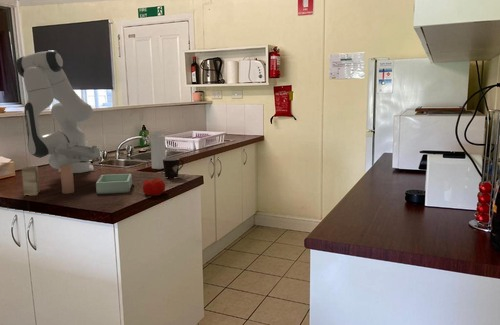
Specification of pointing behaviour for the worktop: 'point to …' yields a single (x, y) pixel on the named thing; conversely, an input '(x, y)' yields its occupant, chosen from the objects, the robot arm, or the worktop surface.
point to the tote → (114, 183)
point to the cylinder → (67, 179)
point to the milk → (158, 150)
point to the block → (30, 180)
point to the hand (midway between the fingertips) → (86, 145)
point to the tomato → (153, 187)
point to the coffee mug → (171, 167)
